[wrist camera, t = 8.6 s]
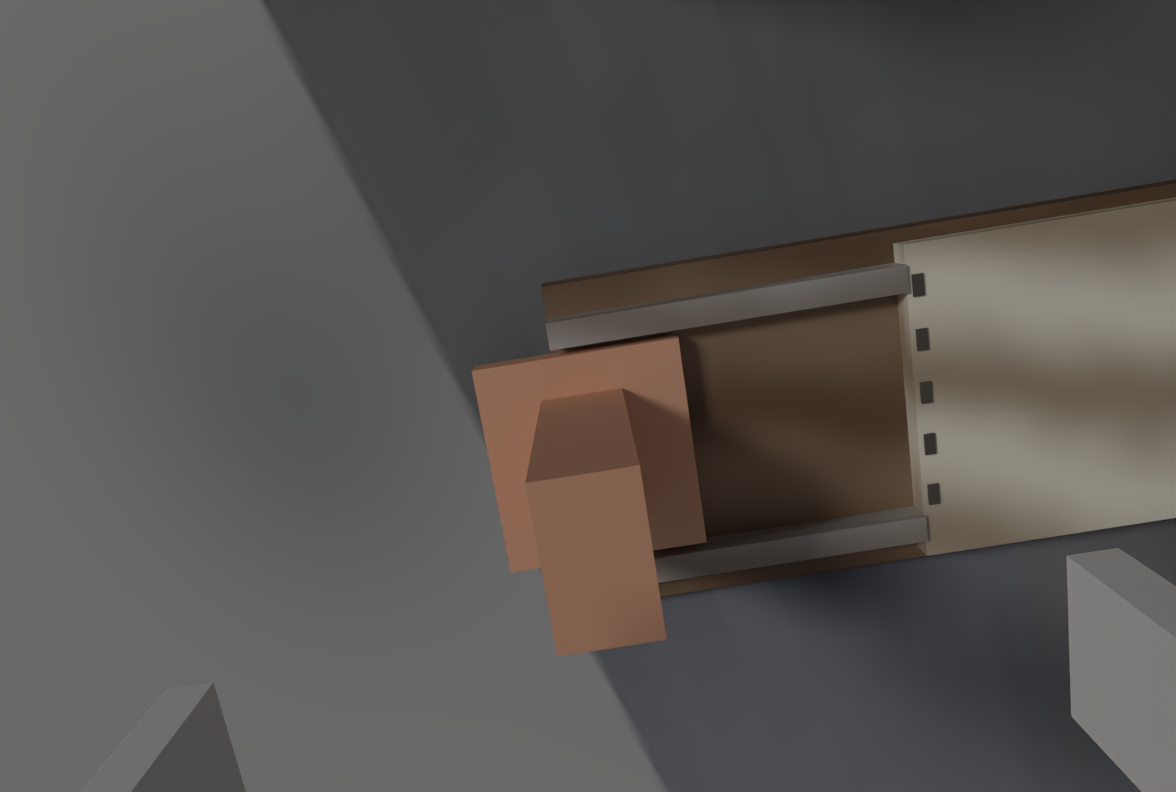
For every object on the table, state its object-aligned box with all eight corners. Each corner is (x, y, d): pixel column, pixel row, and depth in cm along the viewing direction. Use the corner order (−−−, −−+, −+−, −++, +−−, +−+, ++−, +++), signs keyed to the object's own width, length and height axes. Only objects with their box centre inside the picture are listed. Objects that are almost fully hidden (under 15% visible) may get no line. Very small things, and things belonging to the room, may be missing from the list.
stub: (475, 366, 32) (426, 441, 22) (675, 333, 32) (721, 394, 21) (513, 561, 33) (484, 717, 23) (703, 532, 33) (757, 676, 23)
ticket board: (542, 283, 33) (539, 290, 30) (1272, 164, 32) (1335, 160, 29) (595, 590, 36) (597, 621, 33) (1267, 486, 35) (1323, 509, 32)
